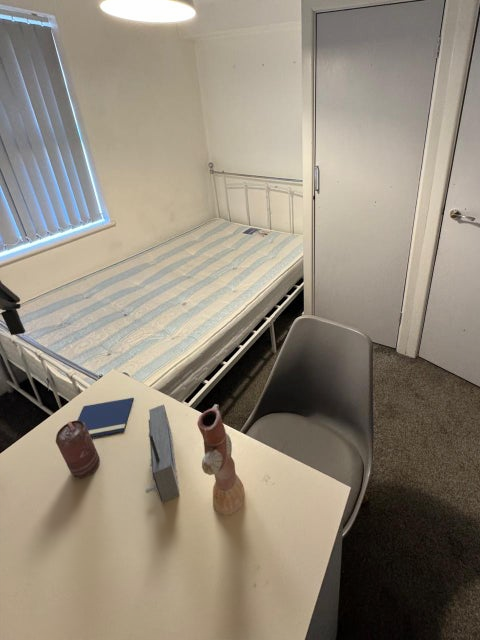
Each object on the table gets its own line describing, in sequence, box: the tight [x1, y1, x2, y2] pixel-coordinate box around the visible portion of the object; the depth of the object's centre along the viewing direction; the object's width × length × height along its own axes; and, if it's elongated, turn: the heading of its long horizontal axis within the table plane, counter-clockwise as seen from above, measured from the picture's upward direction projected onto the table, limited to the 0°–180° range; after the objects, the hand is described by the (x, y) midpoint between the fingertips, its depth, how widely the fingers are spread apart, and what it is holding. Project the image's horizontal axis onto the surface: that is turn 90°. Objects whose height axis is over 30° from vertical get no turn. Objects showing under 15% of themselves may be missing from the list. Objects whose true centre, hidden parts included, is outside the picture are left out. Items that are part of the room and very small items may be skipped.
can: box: [55, 419, 100, 480], centre depth 79 cm, size 6×6×14 cm
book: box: [77, 397, 135, 439], centre depth 93 cm, size 14×11×1 cm
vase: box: [196, 403, 245, 516], centre depth 68 cm, size 10×7×30 cm
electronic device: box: [145, 404, 180, 503], centre depth 77 cm, size 17×7×20 cm, turn 26°
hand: (1, 353), depth 73 cm, fingers open, 13 cm apart
